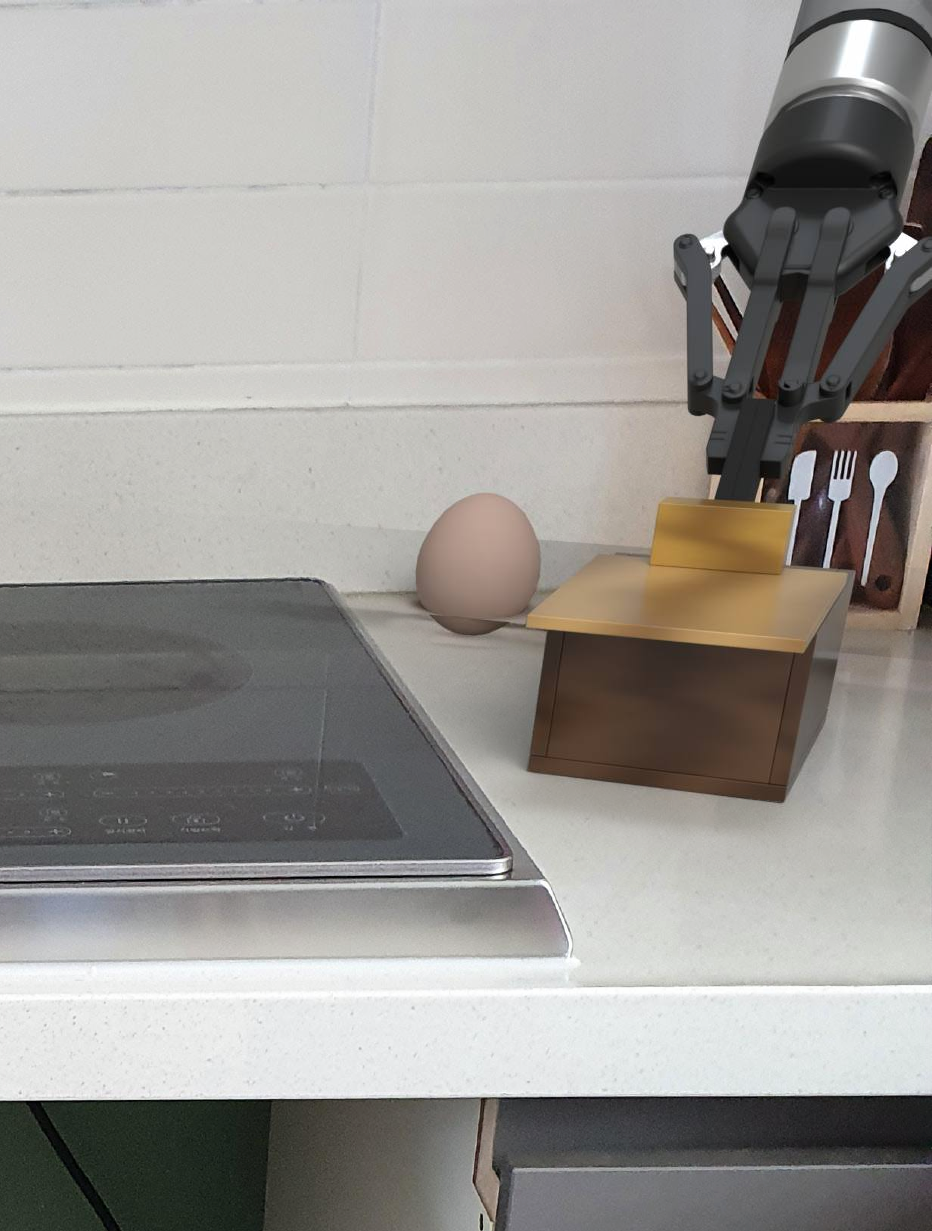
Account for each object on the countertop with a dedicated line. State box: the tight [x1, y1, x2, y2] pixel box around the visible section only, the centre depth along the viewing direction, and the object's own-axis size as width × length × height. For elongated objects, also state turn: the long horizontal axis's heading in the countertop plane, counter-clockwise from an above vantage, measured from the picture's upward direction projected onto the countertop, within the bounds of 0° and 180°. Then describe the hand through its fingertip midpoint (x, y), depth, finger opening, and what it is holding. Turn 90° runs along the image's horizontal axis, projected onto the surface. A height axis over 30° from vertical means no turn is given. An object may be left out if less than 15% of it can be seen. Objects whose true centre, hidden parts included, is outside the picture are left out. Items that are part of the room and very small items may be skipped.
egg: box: [415, 492, 542, 637], centre depth 126 cm, size 7×7×8 cm
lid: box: [525, 496, 848, 653], centre depth 97 cm, size 12×16×4 cm
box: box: [526, 551, 857, 803], centre depth 104 cm, size 12×16×8 cm
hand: (727, 524), depth 104 cm, fingers closed
